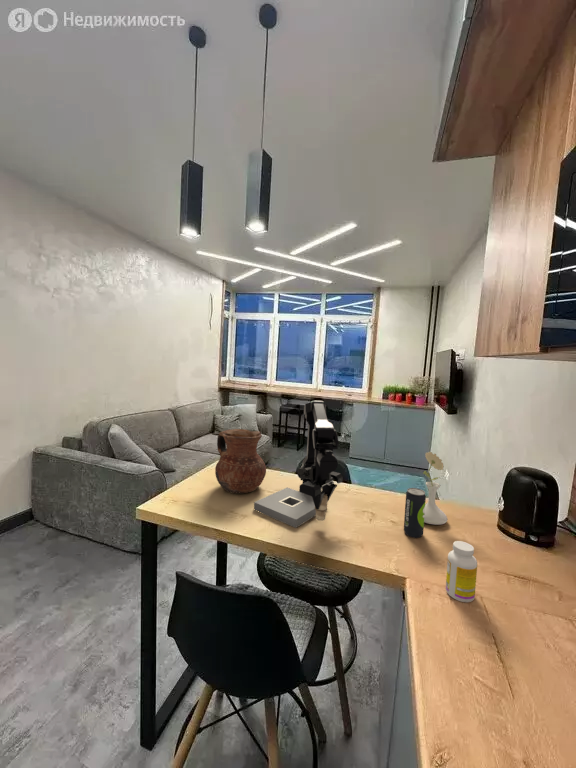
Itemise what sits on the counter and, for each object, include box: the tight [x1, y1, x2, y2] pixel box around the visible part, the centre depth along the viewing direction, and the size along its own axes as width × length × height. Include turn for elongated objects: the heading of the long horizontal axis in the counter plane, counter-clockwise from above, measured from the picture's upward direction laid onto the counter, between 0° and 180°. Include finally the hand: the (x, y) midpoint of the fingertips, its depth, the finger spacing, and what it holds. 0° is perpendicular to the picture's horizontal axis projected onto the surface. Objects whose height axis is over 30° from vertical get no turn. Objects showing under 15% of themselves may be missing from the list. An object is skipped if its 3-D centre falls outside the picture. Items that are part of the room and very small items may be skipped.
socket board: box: [253, 487, 316, 529], centre depth 130 cm, size 20×20×3 cm
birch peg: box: [315, 494, 328, 522], centre depth 116 cm, size 4×4×8 cm
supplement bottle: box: [445, 540, 478, 603], centre depth 85 cm, size 7×7×13 cm
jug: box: [214, 428, 267, 494], centre depth 148 cm, size 22×21×25 cm
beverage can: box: [403, 487, 427, 539], centre depth 114 cm, size 6×6×15 cm
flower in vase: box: [422, 451, 448, 526], centre depth 125 cm, size 13×11×25 cm
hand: (320, 506), depth 116 cm, fingers closed on birch peg, 4 cm apart
